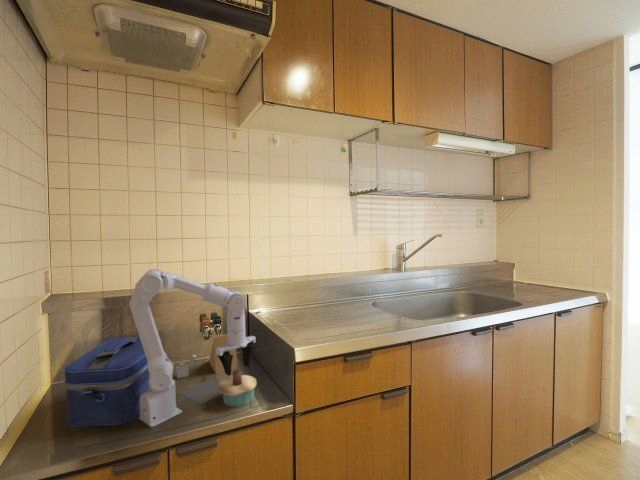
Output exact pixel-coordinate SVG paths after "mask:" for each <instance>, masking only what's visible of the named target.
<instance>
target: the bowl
mask: <svg viewBox="0 0 640 480" xmlns="http://www.w3.org/2000/svg"><path fill="white" fill-rule="evenodd" d="M254 398H255V388H254V389H253V390H251V391H250V392H247V393H245V394H241V395H224V394H222V401H223V404H224V405H226V406H228V407H242V406H245V405H248V404H249V403H251V402H252V401H253V399H254Z"/></svg>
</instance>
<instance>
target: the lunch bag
mask: <svg viewBox="0 0 640 480" xmlns="http://www.w3.org/2000/svg"><path fill="white" fill-rule="evenodd" d="M160 340H161V342H162V339H161V338H160ZM149 377H150V375H149V371H148V361H147V358H146V355H145V352H144V348H143V345H142V342H141V339H140V337H137V336H136V337H132V336H131V337H128V336H125V337H113V338H109V339H108V340H106V341H104V342H102V343H101V344H99V345H97V346H95V347H94V348H93V349H91V350H89V351H88V352H86V353H84V354H83V355H82V356H80V357H78V358H77V359H76V360H73V361H72V362H70V363H69V364H67V365H66V366H65V367H64V378H65V380H64V387H65V388H66V391H65V393H66V406H67V410H66V411H67V412H66V417H67V418H66V423H67V426H69V427H70V428H83V427H84V428H85V427H93V426H94V427H96V426H118V425H122V424H126V423H129V422H131V421H133V420H134V419H136V418H137V417H138V416H140V395H141V394H143V393H144V392H146V391H147V390H148V389H149Z"/></svg>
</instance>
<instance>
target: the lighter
mask: <svg viewBox="0 0 640 480" xmlns="http://www.w3.org/2000/svg"><path fill="white" fill-rule="evenodd" d="M196 359H197V354H193V353H192V355H191V357H190V359H189V362H188V363H187V364H186V362H182V363H179V364H178V365H177V366H176V379H181V378H185V377H189V376H190V373H189V371H190V370H189V367H191V368H192V367H193V365H194V363H195V361H196Z"/></svg>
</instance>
